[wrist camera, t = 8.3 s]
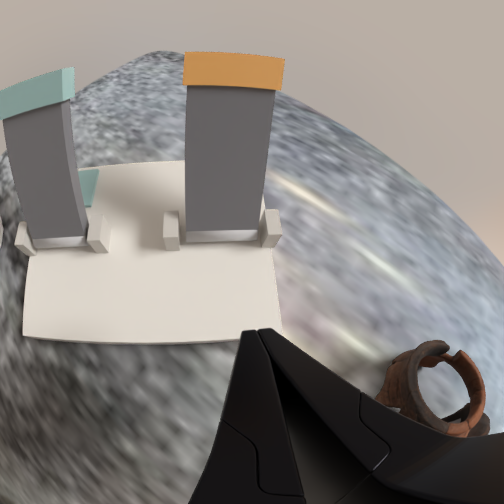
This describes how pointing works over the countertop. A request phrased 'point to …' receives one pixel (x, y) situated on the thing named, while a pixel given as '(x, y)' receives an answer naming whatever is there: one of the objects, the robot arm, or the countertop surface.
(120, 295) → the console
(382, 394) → the pottery mug
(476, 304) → the countertop surface
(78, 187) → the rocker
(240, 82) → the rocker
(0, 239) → the white cup
